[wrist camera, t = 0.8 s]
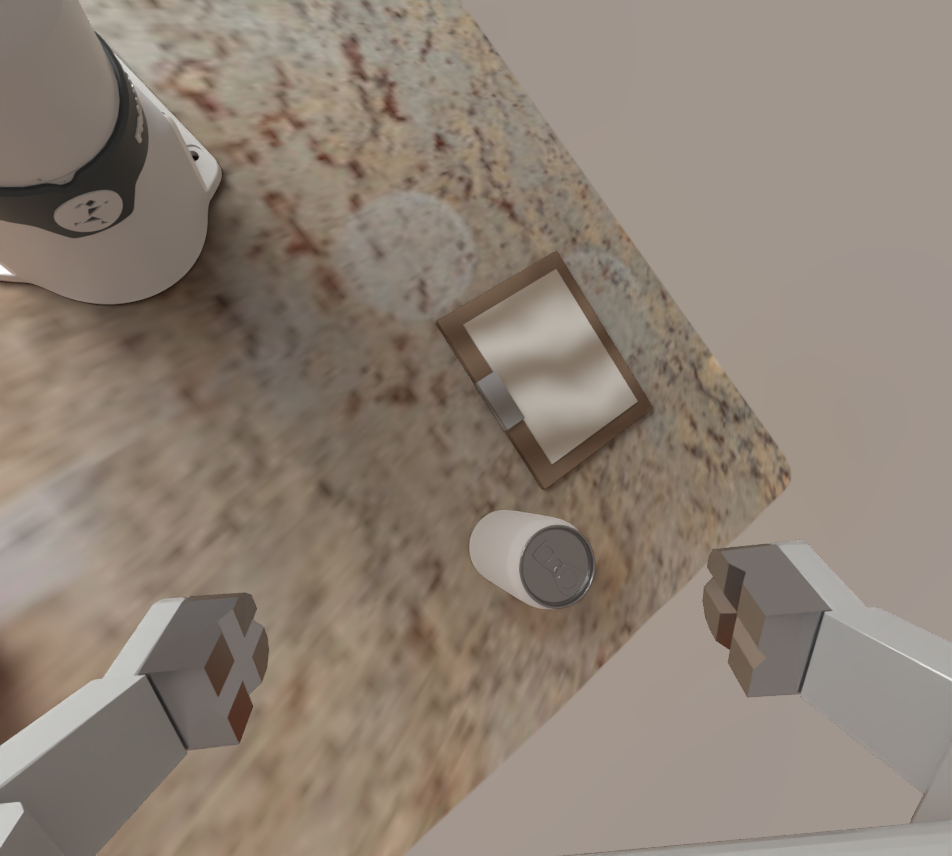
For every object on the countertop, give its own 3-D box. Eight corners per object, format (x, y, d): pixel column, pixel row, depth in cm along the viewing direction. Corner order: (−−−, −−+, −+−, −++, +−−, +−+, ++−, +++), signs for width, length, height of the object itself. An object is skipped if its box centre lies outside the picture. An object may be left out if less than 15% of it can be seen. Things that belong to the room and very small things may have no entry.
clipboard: (433, 324, 48) (437, 319, 46) (553, 253, 52) (559, 247, 50) (540, 490, 49) (546, 490, 48) (648, 409, 53) (657, 407, 52)
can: (501, 598, 47) (558, 636, 36) (452, 546, 46) (494, 568, 35) (549, 545, 49) (618, 565, 37) (503, 494, 48) (558, 498, 37)
